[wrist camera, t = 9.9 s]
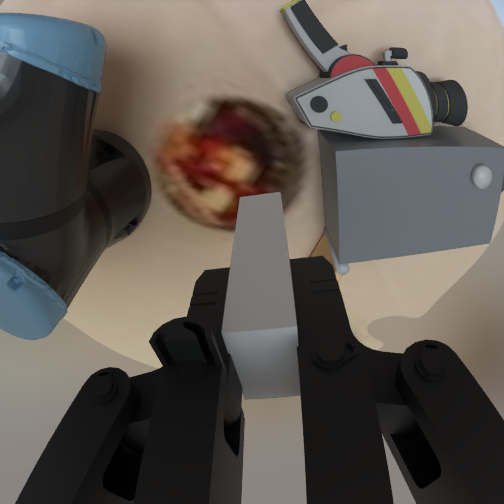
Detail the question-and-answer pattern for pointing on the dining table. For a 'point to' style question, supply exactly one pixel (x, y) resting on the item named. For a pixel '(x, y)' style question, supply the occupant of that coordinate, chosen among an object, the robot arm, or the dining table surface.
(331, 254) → the side door
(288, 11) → the film camera
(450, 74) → the dining table surface
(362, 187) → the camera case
